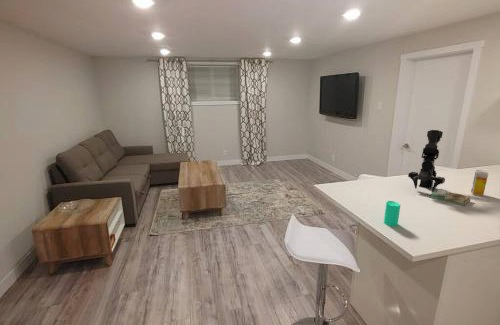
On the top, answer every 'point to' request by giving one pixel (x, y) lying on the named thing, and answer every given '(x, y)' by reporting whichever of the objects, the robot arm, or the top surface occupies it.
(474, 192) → the orange cylindrical container
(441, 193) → the golf ball
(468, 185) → the top surface
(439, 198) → the putting mat
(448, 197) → the u-shaped wooden rail
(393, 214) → the candle
